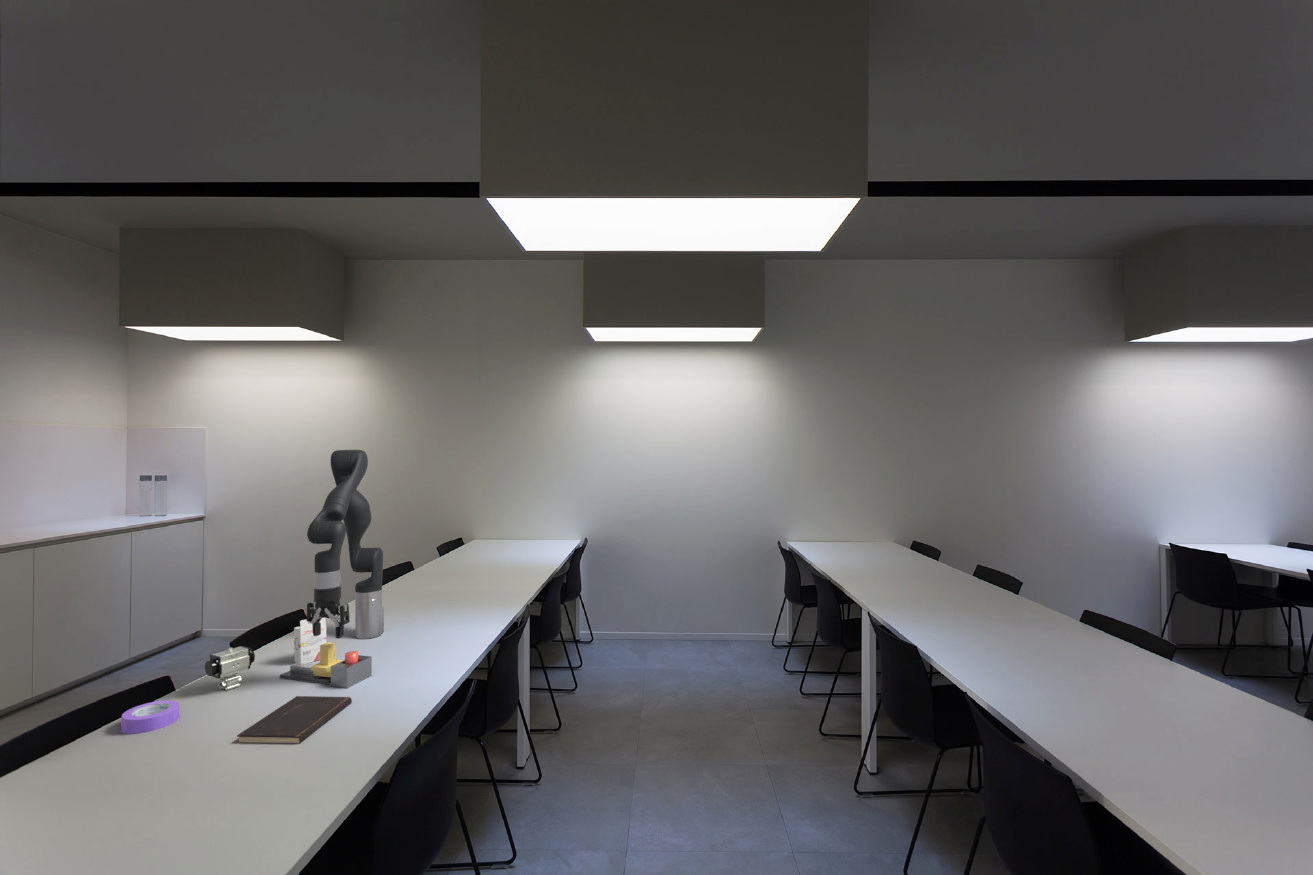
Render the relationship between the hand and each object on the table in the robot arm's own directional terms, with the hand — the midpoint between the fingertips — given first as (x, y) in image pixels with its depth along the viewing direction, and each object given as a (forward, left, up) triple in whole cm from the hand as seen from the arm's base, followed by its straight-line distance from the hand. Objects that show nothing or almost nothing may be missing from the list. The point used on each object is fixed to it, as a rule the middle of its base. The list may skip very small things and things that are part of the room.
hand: (328, 636), depth 189 cm
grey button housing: (0, +9, -13) cm, 16 cm away
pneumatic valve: (+14, -22, -13) cm, 29 cm away
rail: (0, -5, -13) cm, 14 cm away
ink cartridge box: (-11, -18, -13) cm, 25 cm away
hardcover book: (+26, +16, -14) cm, 34 cm away
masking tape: (+37, -21, -13) cm, 45 cm away
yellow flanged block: (0, 0, -11) cm, 11 cm away
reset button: (0, +9, -9) cm, 13 cm away
